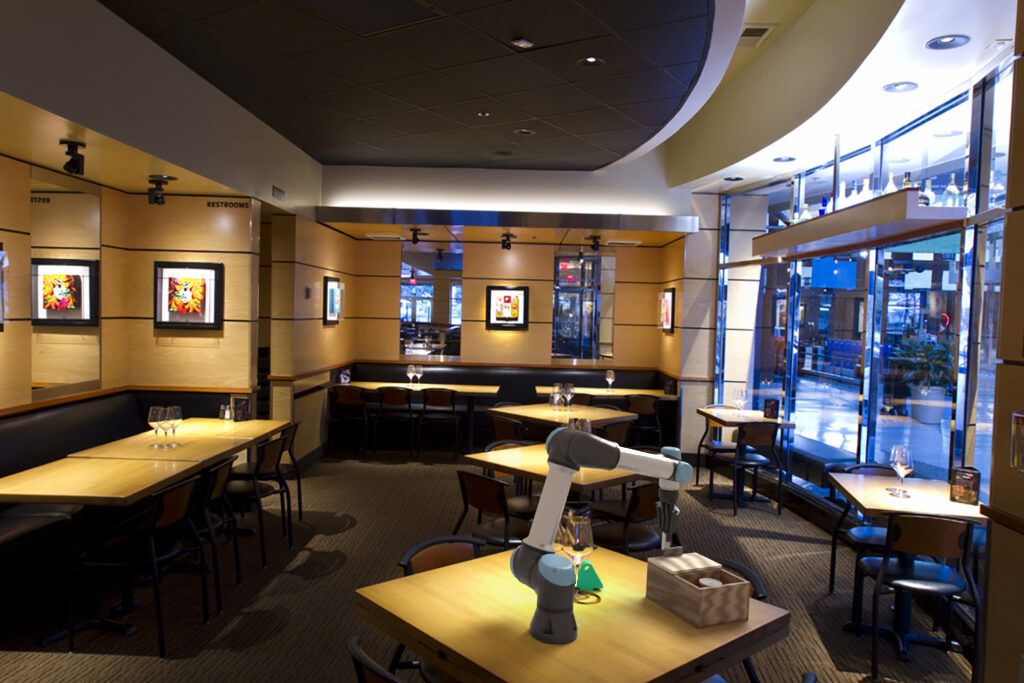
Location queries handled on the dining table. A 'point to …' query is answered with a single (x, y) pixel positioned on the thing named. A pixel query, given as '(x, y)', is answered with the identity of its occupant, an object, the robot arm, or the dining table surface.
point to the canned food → (708, 582)
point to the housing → (700, 596)
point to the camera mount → (587, 577)
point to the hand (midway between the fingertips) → (665, 549)
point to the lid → (683, 561)
